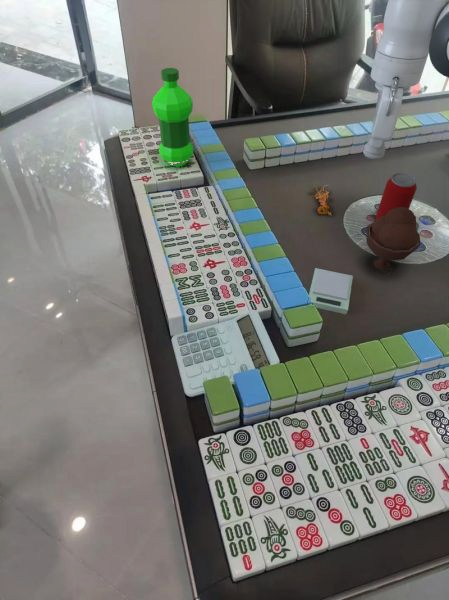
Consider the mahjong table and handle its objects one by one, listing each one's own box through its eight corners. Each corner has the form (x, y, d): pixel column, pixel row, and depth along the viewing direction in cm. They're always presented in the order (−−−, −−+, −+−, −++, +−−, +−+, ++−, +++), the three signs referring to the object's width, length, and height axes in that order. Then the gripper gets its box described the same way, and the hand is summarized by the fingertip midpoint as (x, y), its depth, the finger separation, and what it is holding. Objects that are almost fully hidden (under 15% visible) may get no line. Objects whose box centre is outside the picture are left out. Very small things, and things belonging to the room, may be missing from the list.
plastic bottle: (152, 162, 125) (140, 70, 107) (180, 149, 130) (174, 60, 112) (173, 176, 120) (164, 82, 102) (202, 162, 125) (199, 71, 107)
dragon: (314, 217, 108) (317, 205, 105) (310, 191, 116) (312, 179, 113) (332, 218, 108) (335, 205, 105) (326, 192, 116) (329, 180, 113)
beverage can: (404, 217, 108) (421, 175, 100) (400, 232, 104) (417, 190, 95) (377, 210, 110) (391, 168, 101) (372, 225, 106) (386, 182, 97)
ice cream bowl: (349, 253, 99) (366, 198, 88) (397, 251, 100) (419, 196, 89) (362, 286, 92) (382, 231, 81) (413, 283, 93) (440, 228, 82)
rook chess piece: (367, 147, 92) (377, 109, 87) (387, 153, 91) (398, 115, 85) (358, 155, 90) (368, 118, 84) (379, 162, 88) (390, 124, 82)
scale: (350, 283, 93) (353, 273, 90) (345, 318, 86) (348, 307, 84) (313, 276, 94) (315, 265, 92) (305, 309, 88) (308, 298, 85)
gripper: (414, 93, 71) (390, 169, 81) (416, 51, 84) (395, 121, 94) (375, 88, 72) (356, 163, 82) (382, 48, 85) (365, 117, 95)
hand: (377, 140), depth 88 cm, fingers closed on rook chess piece, 3 cm apart
